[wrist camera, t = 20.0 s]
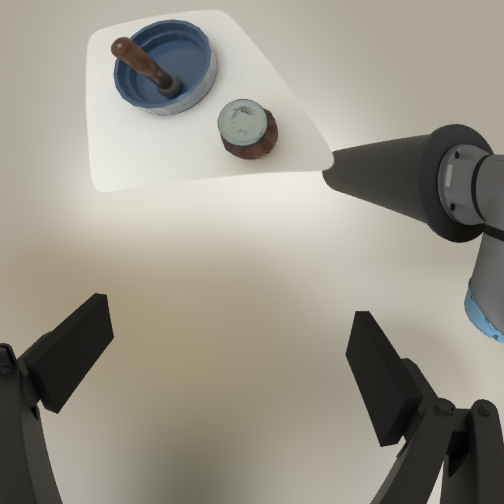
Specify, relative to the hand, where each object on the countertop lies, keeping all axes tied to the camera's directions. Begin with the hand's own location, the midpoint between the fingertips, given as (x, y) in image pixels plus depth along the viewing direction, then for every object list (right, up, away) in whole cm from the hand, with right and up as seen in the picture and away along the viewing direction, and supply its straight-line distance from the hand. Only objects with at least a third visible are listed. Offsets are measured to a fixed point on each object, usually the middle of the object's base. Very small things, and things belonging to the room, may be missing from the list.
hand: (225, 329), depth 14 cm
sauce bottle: (+1, +20, +26) cm, 33 cm away
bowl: (-11, +31, +23) cm, 41 cm away
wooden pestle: (-10, +28, +23) cm, 38 cm away
